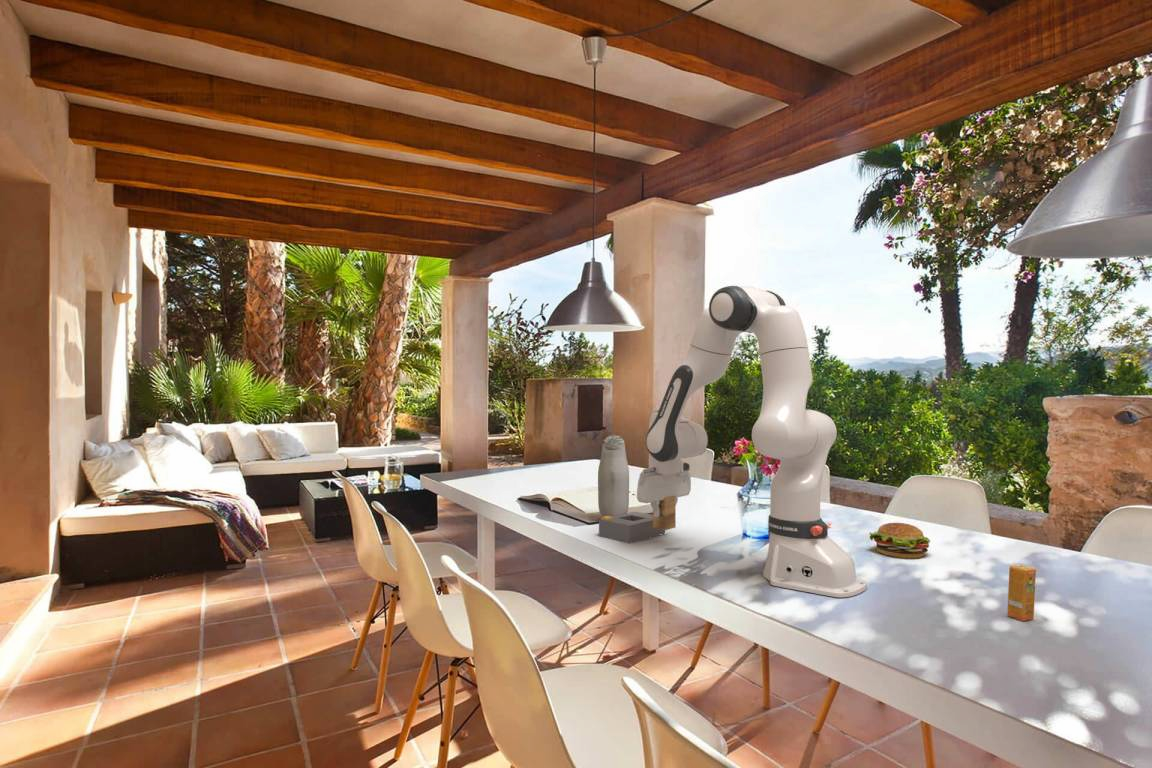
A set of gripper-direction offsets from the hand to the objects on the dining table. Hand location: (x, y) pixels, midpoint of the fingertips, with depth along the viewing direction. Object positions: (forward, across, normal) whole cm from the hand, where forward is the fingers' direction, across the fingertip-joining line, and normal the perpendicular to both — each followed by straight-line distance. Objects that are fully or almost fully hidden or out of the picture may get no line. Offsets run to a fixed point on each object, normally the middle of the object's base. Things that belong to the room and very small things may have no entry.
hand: (664, 514), depth 186 cm
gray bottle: (+8, +10, +29) cm, 32 cm away
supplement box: (+8, +4, -85) cm, 85 cm away
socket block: (+8, 0, +12) cm, 14 cm away
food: (+8, +37, -50) cm, 63 cm away
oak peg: (+4, 0, 0) cm, 4 cm away
